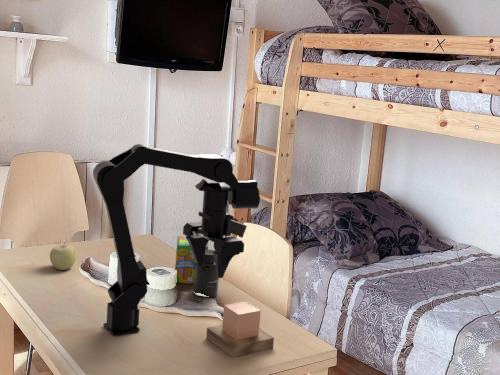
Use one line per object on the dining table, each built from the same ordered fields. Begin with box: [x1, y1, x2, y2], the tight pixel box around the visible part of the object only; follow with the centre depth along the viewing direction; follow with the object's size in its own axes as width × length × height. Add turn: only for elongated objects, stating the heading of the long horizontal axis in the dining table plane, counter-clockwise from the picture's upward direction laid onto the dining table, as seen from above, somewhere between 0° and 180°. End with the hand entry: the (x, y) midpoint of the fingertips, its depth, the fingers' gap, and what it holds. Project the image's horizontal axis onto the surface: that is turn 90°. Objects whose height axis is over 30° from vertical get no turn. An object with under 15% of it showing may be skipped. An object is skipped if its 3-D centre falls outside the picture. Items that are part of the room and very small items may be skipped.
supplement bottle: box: [192, 249, 220, 298], centre depth 175 cm, size 7×7×12 cm
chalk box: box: [174, 236, 209, 285], centre depth 185 cm, size 9×9×15 cm
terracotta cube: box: [221, 300, 262, 340], centre depth 146 cm, size 6×6×6 cm
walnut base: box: [205, 324, 275, 358], centre depth 146 cm, size 11×11×2 cm
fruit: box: [49, 242, 77, 271], centre depth 186 cm, size 8×7×8 cm
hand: (210, 271), depth 154 cm, fingers open, 9 cm apart
